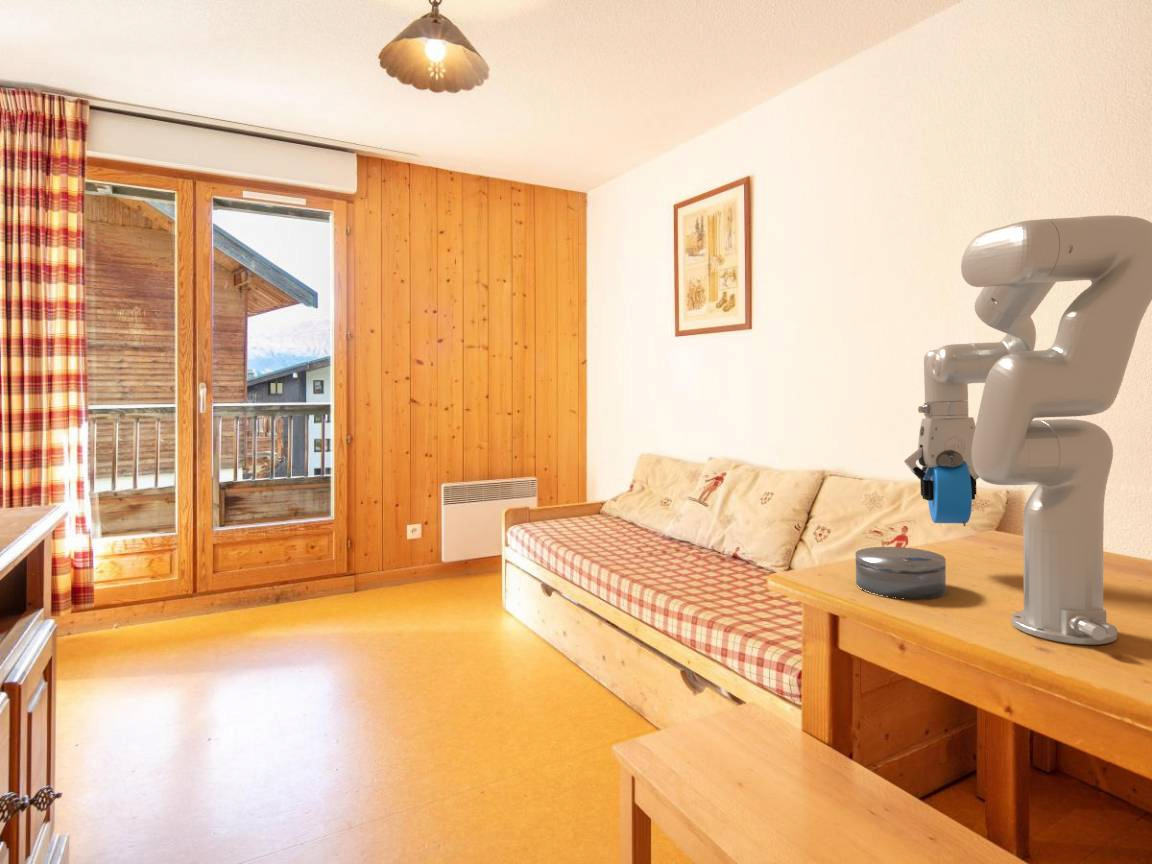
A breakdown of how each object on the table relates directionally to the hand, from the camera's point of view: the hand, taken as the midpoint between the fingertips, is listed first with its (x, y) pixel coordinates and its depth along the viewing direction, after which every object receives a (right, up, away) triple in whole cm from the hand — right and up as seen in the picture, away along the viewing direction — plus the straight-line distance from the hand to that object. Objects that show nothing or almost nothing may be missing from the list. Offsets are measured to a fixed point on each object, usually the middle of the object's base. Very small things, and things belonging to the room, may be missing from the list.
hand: (948, 498), depth 129 cm
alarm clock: (0, -5, 0) cm, 5 cm away
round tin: (-14, -16, -9) cm, 23 cm away
